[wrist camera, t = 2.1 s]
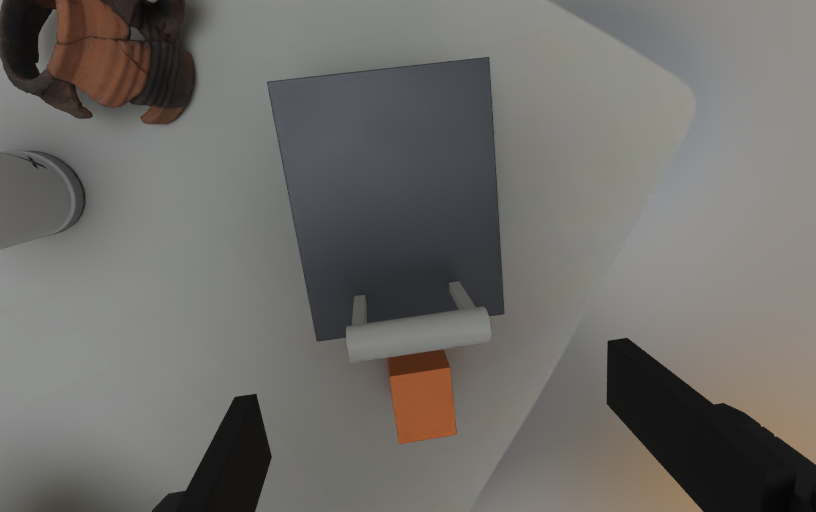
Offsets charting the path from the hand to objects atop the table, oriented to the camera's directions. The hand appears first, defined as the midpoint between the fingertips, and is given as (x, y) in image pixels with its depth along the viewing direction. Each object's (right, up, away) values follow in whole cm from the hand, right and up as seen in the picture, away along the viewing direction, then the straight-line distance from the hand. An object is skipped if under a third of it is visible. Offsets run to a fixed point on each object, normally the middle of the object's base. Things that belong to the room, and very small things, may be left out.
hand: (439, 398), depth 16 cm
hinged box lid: (-2, +8, +11) cm, 14 cm away
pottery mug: (-21, +20, +15) cm, 33 cm away
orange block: (-1, -4, +23) cm, 24 cm away
